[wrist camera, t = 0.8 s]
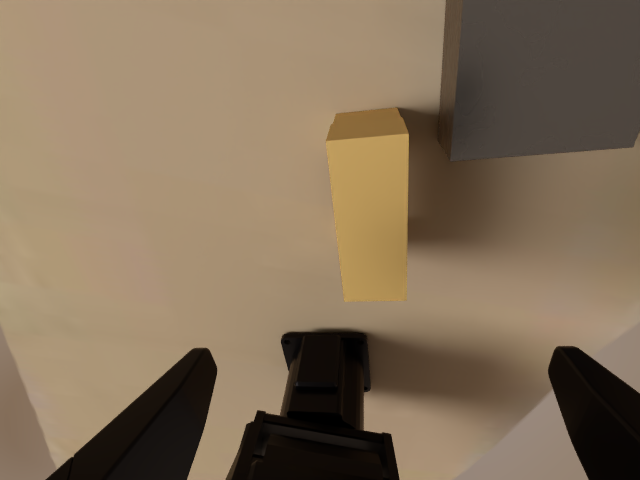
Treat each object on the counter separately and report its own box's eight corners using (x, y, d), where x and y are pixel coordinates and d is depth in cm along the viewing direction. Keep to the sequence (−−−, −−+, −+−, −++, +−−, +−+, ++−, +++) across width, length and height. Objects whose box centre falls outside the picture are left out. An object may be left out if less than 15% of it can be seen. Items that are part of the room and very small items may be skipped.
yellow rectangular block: (397, 241, 21) (406, 300, 17) (348, 243, 21) (344, 301, 17) (397, 103, 17) (408, 133, 12) (335, 109, 17) (325, 141, 13)
